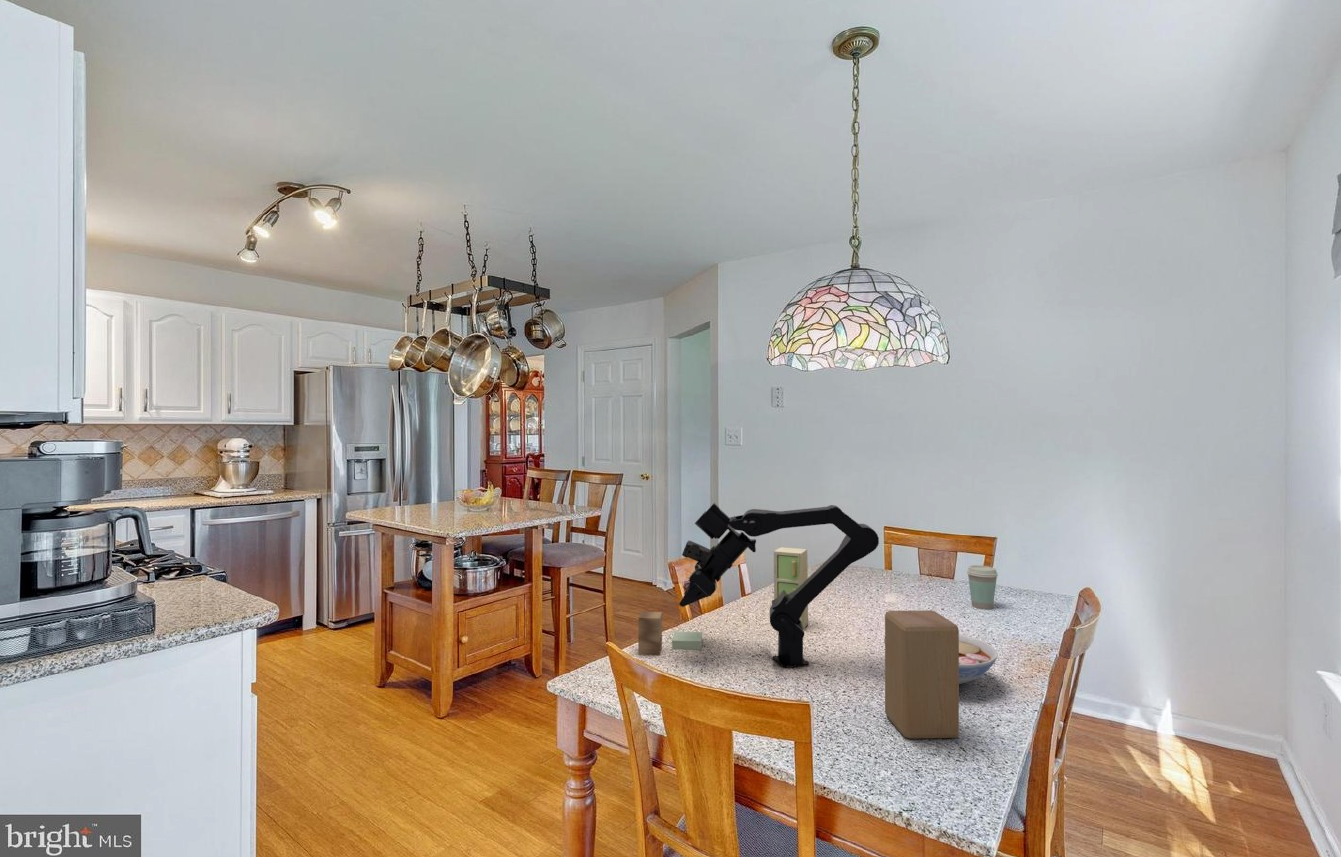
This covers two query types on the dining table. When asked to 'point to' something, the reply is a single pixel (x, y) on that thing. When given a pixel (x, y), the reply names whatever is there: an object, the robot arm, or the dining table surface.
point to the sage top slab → (687, 640)
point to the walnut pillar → (650, 633)
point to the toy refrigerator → (790, 573)
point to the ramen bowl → (974, 658)
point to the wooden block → (922, 674)
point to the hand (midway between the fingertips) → (683, 600)
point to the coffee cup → (982, 586)
